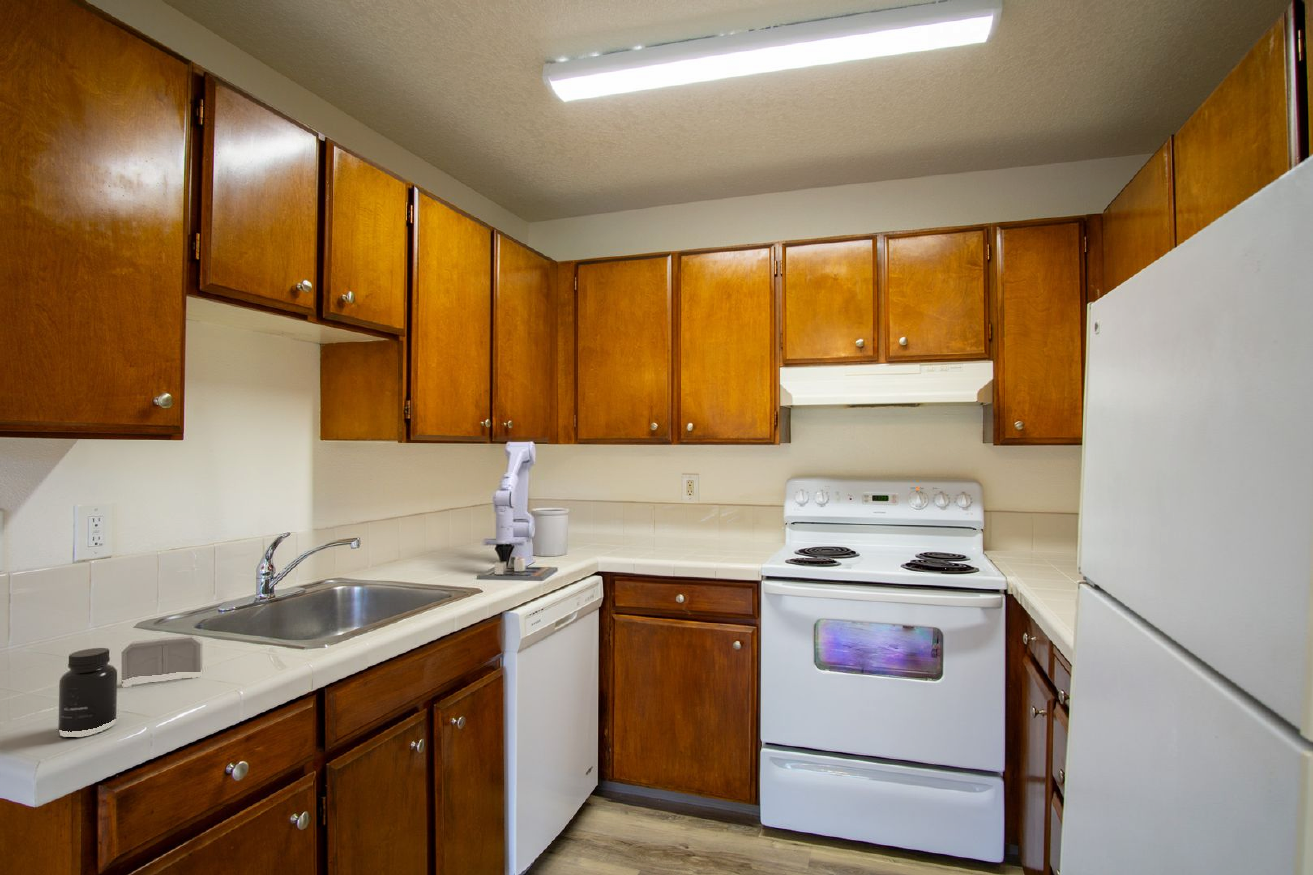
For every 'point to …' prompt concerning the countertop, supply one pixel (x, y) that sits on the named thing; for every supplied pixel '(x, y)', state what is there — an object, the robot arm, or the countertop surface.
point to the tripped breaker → (519, 564)
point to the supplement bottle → (87, 691)
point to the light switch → (162, 656)
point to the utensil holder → (550, 531)
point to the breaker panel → (516, 572)
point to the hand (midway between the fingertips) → (504, 567)
